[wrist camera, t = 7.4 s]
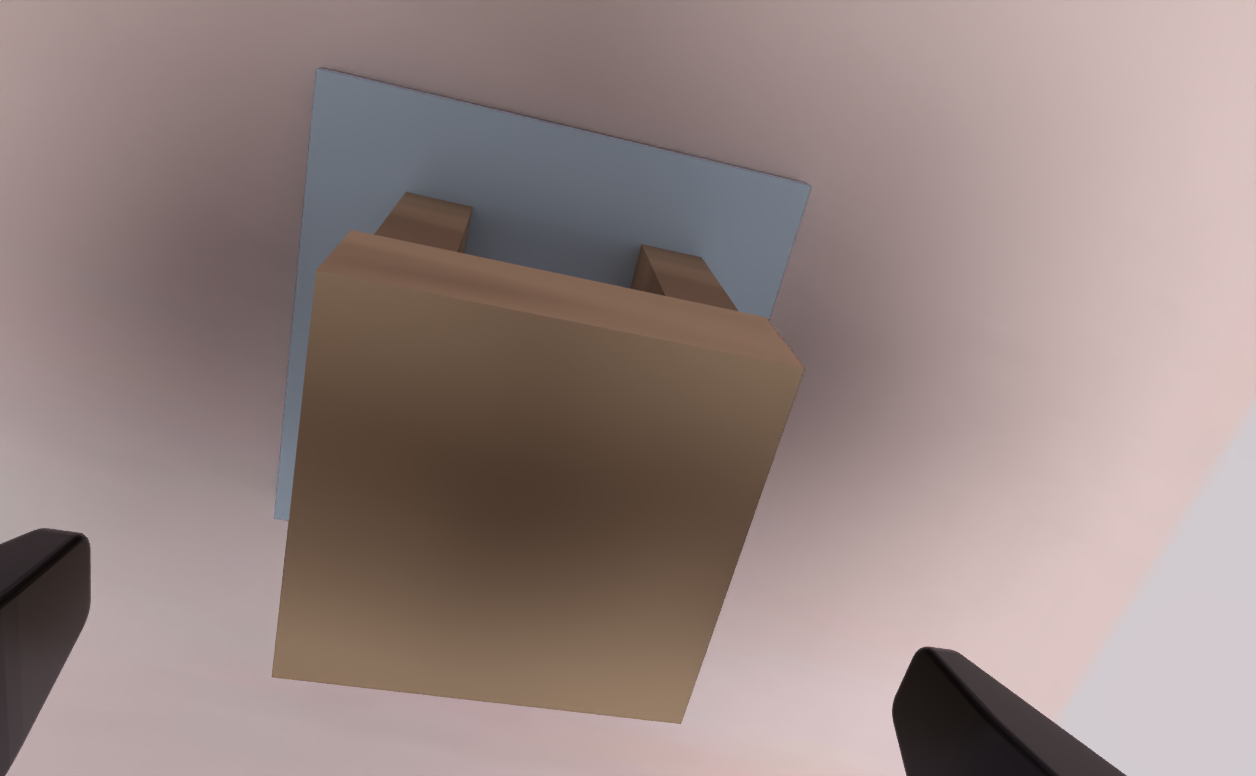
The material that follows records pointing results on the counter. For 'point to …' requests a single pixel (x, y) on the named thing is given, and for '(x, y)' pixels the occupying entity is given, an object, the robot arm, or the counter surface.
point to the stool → (521, 472)
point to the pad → (525, 202)
